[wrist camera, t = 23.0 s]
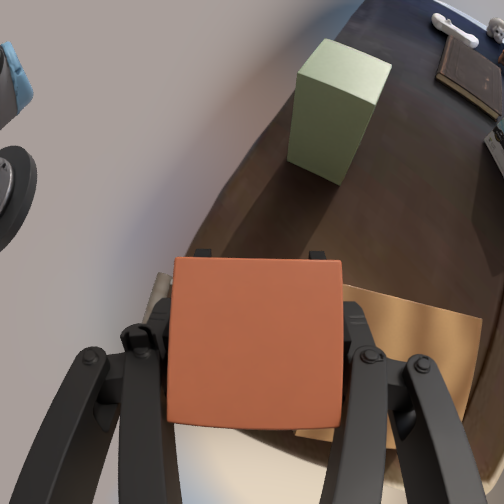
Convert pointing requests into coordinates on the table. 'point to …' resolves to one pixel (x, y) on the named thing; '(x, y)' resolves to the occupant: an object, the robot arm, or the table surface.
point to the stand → (333, 108)
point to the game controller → (453, 30)
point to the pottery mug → (501, 58)
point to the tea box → (497, 144)
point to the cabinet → (417, 343)
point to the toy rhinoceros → (496, 29)
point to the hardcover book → (471, 76)
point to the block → (256, 343)
